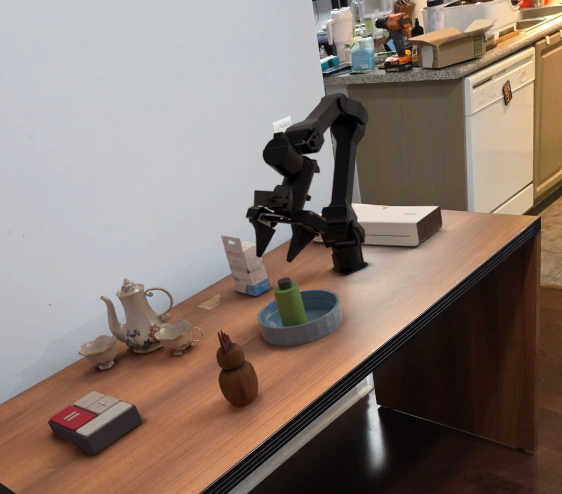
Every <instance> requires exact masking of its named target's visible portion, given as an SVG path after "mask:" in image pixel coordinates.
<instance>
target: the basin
mask: <svg viewBox="0 0 562 494" xmlns="http://www.w3.org/2000/svg"><path fill="white" fill-rule="evenodd" d="M300 294H301V298H302V302H303V306H304V310H305V314H306V318H307V322H308V323H305V324H300V325H296V326H288V327H283V325H282V321H281V317H280V313H279V310H278V306H277V302H276V299H273V300H272V301H270V302H268V303H267V304H265V305H264V306H263V307H262V308H261V309H260V310H259V312H258V313H257V318H256V319H257V320H256V321H257V323H258V326H259V330H260V333H261V337H262V338H263V340H264V341H265V342H267V343H268V344H271V345H274V346H278V347H279V346H281V347H290V346H300V345H304V344H309V343H312V342H315V341H318V340H320V339H323V338H324V337H327V336H328V335H330V334H331V333H333V332H334V331H336V330H337V329H338V328H339V327H340V326H341V325H342V323H343V321H344V313H343V308H342V304H341V299H340V296H339V295H338V294H337V293H336V292H334V291H332V290H329V289H323V288H311V289H304V290H303V289H302V290H300Z"/></svg>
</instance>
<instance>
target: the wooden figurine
mask: <svg viewBox="0 0 562 494" xmlns="http://www.w3.org/2000/svg"><path fill="white" fill-rule="evenodd" d="M216 334H217V337H218V342H219V345H220V346H219V347H218V349H217V351H216V354H215V356H216V357H215V358H216V363H217V364H218V367H220V369H221V370H220V371H219V374H218V379H217V381H218V385H219V388H220V391H221V394H222V395H223V397H224V399H225V400H226V402H228V404H230V405H231V406H233V407H236V408H244V407H247V406H248V405H250V404H252V403H253V402H255V400H256V399H257V397H258V394H259V378H258V375H257V373H256V370H255V368H254V365H253V364H252V363H251V362H250V361H248V360H246V356H245V352H244V350H243V347H242V346H241V345H240V344H239V343H237V342H232V340H231V338H230V336H229V334H227V333H226V332H224V331H223V330H222V329H220V332H219V331H218V332H217V333H216Z"/></svg>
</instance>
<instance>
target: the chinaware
mask: <svg viewBox="0 0 562 494" xmlns="http://www.w3.org/2000/svg"><path fill="white" fill-rule="evenodd" d="M122 283H123V284H122V285H121V287H120V289H119V290H117V291H116V292H115V297H117V299H118V300H119V301H120V303H121V306H122V308H123V311H124V312H123V313H124V317H125V319H124V320H125V323H124V324H122V323H121V322H120V321H119V319H118V316H117V312H116V308H115V306H114V303H113V302H112V300H111V299H110V298H109V297H108V296H105V295H101V296H99V297H98V298H99V300H102V301H103V302H104V303H105V305H106V314H107V324H108V325H107V326H108V329H109V331H110V333H111V334H112V335H111V336H110V335H108V334H101V335H99V336H97V337H96V338H94V340H91V341H86V342H83V343H82V345H81V346H80V350H78V355H80V356H83V357H84V358H85V360H86V361H87V362H88V363H90V364H92V365H94V366H98V368H99V369H100V370H107V369H110V368H111V367H112V366H114V365H115V362H114V361H113V360H115V358H116V355H117V353H118V352H117V351H118V350H117V348H118V347H117V341H119V342H121V343H124V344H126V346H127V347H128V348H130V349H132V351H133V353H135V354H149V353H153V352H154V351H157V350H160V349H161V348H162V347H163V348H165V350H168V351H170V352H173V356H182V355H184V354H185V352H184V351H186V349H187V348H188V347H189V346H190V347H193V346H194V342H199V341H201V340H202V339H203V337H204V332H203V330H202V329H201V328H200V327H196V326H195V323H193V322H190V321H189V320H187V319H180V320H178V321H177V322H175V323H170V322H169V321H170V320H171V314H170V313H169V312H170V311H171V310H172V308H173V305H174V298H173V296H172V294H171V293H170V292H169V290H167V289H166V288H165V287H161V286H153V287H149V288H147V289H145V284H144V283H141V282H140V283H138V282H137V283H136V282H134V281H131V280H130V279H129V278H127V277H124V278H123V282H122ZM153 291H161V292H163V293H165V294H166V295H167V296H168V298H169V306H168V307H167V309H166V310H165V311H163V312H161V313H159V314H158V313H156V312H155V310H154V309H153V307H152V306H151V305H150V303H149V301H148V299H147V297H149V298H152V297H153V296H154V293H153ZM168 322H169V323H168ZM196 330H198V331H200V332H201V336H200V338H199V339H193V331H194V332H196ZM192 339H193V340H192Z"/></svg>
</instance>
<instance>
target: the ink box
mask: <svg viewBox="0 0 562 494" xmlns="http://www.w3.org/2000/svg"><path fill="white" fill-rule="evenodd" d="M220 238H221V241H222V245H223V249H224V252H225V256H226V259H227V263H228V266H229V269H230V273H231V276H232V279H233V282H234V283H233V284H234V286H235V289H236V292H239V293H242V294H246V295H249V296H253V297H258V296H259V295H262V294H263V293H265V292H267V291H269V290H270V289H271V284H270V282H269V277H268V274H267V270H266V267H265V264H264V263H265V262H264V260H263V256H262V257H261V258H259V257H257V256H256V242H251V241H245V240H241V239H240V238H239V237H234V236H229V235H223V234H221V235H220ZM230 241H231V242H232V243H230Z"/></svg>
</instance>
